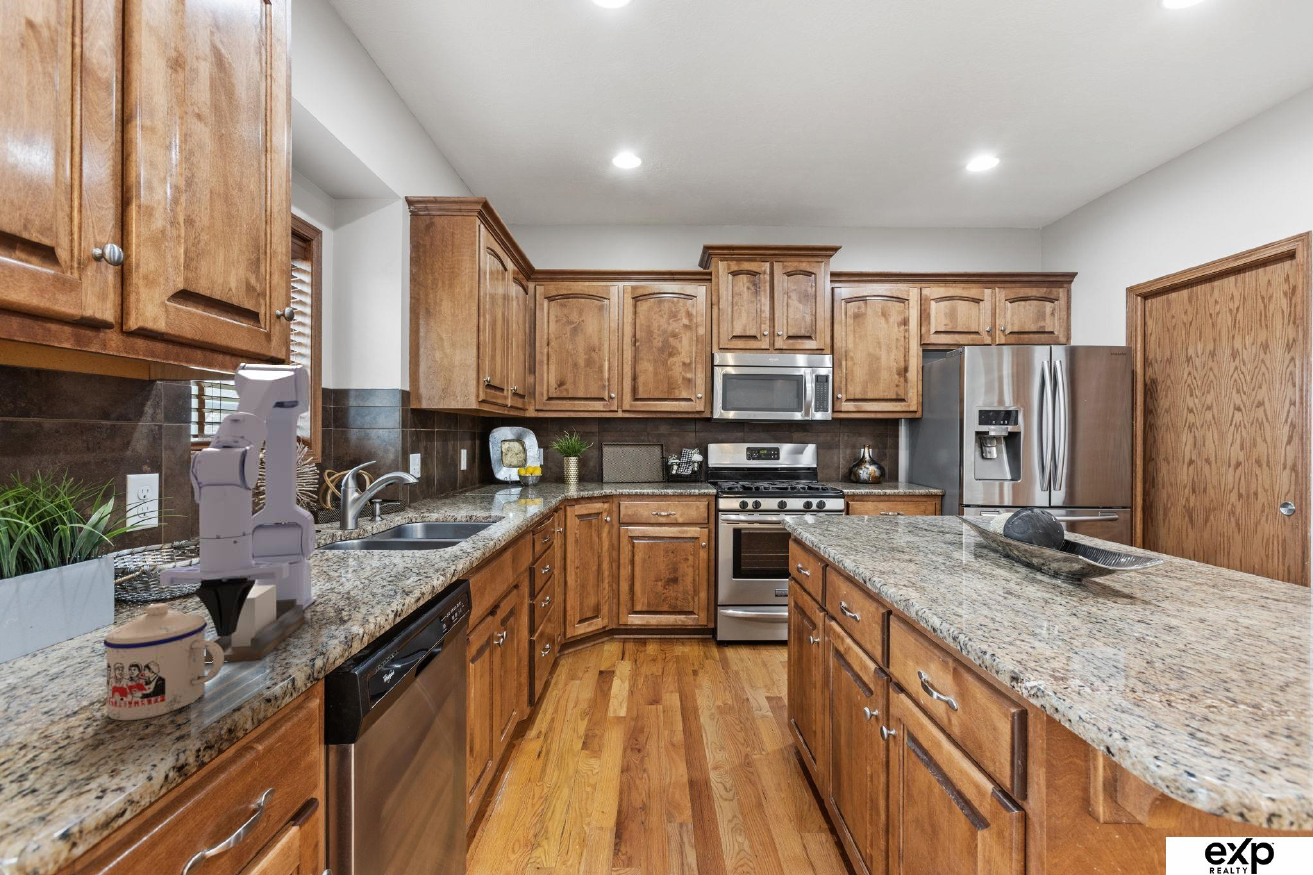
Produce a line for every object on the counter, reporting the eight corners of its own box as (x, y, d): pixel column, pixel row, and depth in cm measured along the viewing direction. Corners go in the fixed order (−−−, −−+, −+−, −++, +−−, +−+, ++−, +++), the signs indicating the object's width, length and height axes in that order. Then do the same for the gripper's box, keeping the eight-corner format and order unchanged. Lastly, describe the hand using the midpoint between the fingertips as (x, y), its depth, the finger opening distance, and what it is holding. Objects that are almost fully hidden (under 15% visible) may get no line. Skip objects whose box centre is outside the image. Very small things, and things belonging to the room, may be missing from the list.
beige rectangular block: (231, 647, 81) (231, 598, 81) (254, 630, 88) (254, 585, 87) (255, 645, 81) (254, 597, 81) (276, 628, 88) (276, 584, 88)
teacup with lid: (79, 723, 61) (79, 618, 61) (152, 686, 71) (151, 594, 70) (191, 722, 62) (190, 617, 62) (249, 685, 71) (248, 593, 71)
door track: (257, 625, 93) (257, 601, 93) (304, 621, 94) (304, 598, 94) (203, 663, 77) (203, 635, 77) (260, 659, 79) (260, 631, 79)
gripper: (144, 542, 71) (145, 649, 71) (273, 538, 74) (273, 640, 74) (178, 533, 78) (178, 630, 78) (294, 529, 81) (295, 622, 81)
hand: (226, 633), depth 77 cm, fingers closed
